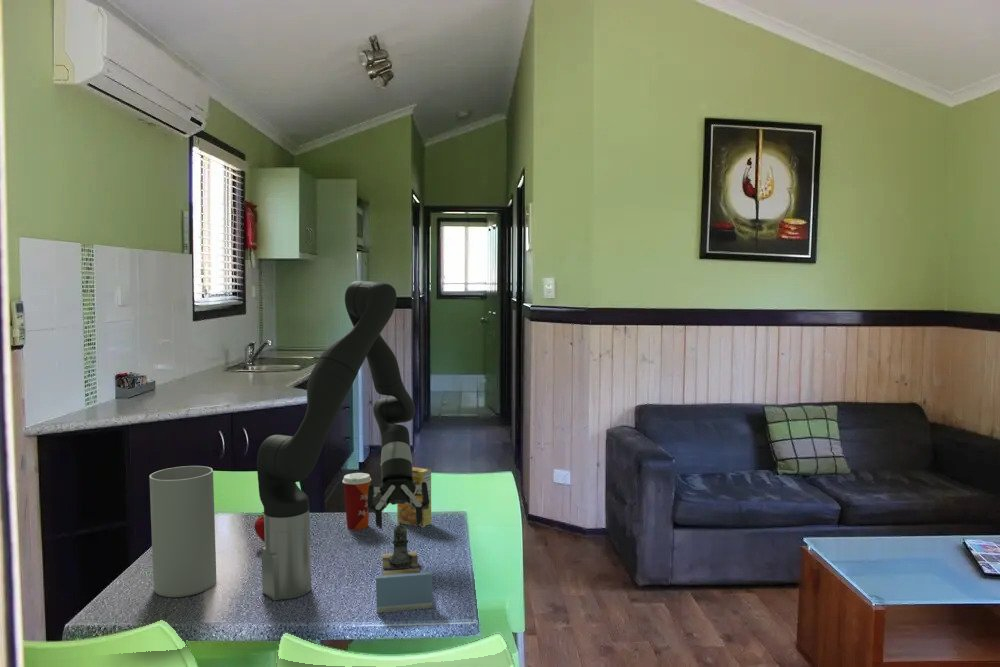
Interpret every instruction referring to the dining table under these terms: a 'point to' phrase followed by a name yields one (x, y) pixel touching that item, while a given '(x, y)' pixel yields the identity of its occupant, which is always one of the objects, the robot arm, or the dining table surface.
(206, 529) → the cylinder vase
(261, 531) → the strawberry
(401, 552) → the dark statuette
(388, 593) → the bezel holder
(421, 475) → the candy box
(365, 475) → the paper cup
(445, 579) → the dining table surface
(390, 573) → the oak gap blocks
